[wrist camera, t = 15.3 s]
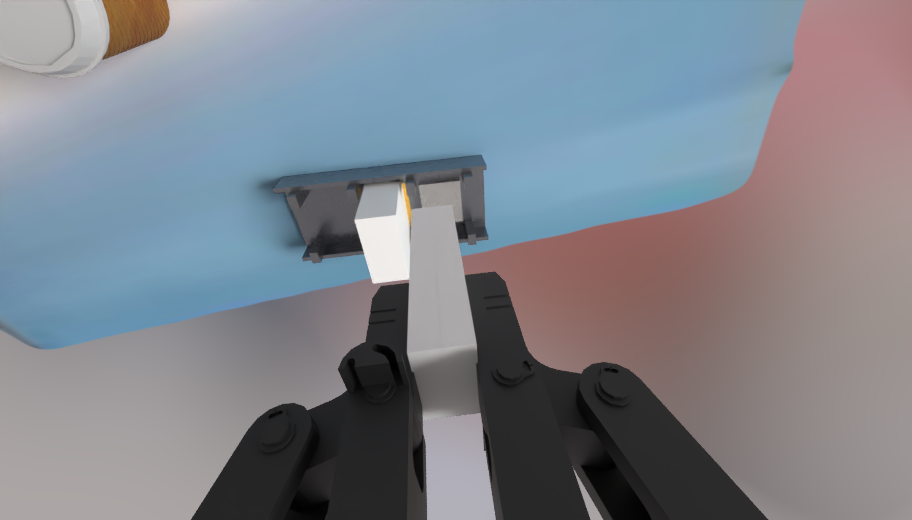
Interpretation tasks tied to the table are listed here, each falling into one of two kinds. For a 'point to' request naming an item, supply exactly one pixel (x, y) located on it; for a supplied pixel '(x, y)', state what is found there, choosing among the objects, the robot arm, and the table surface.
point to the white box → (384, 230)
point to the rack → (339, 192)
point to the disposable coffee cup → (75, 32)
